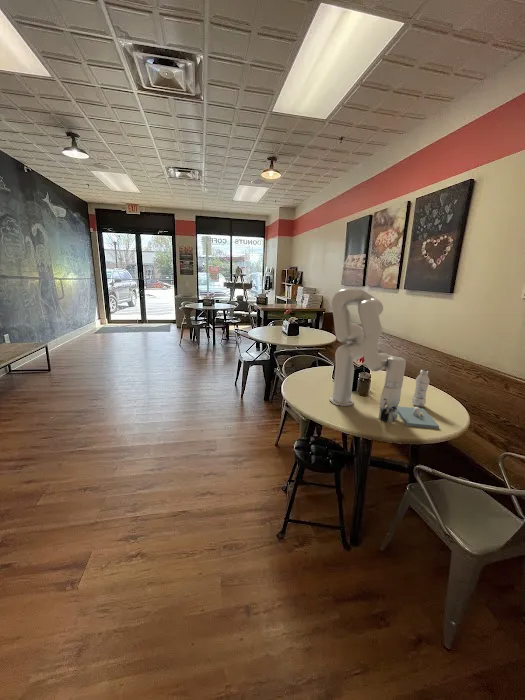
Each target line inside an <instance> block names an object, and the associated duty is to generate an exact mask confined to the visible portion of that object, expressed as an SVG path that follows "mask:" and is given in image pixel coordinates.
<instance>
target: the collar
mask: <svg viewBox="0 0 525 700" xmlns="http://www.w3.org/2000/svg"><path fill="white" fill-rule="evenodd" d="M385 406H386V407H387V405H385ZM384 409H385V410H386V409H387V408H384ZM380 417H381V409H380V408H379V411H378V419H379V420H381V419H380ZM398 417H399V414H398V410H396V409H393V408H389V410H388V419H387V421H384V420H382V421H384V422H385V423H389V424H392V423H393V421H394V422H396V421H397V420H398Z"/></svg>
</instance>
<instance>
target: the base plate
mask: <svg viewBox="0 0 525 700" xmlns="http://www.w3.org/2000/svg"><path fill="white" fill-rule="evenodd" d="M396 410H398V417H400V419H401V420H402V421H403V423H404V425H405V426H406V427H412V428H413V427H414V428H416V427H417V428H424V429H425V428H426V429H433V428H435V429H436V430H438V429H439V428H440V425H439V424H438V422H436V420H435V419H434V418H432V416H431V415H430V414H429V413H428V412H427V411H426V410H425V409H424V408H422V407H418V406H414V407H407V406H399V405H398V406H397V409H396ZM435 429H434V430H435ZM439 430H440V429H439Z"/></svg>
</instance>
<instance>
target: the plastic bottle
mask: <svg viewBox="0 0 525 700" xmlns="http://www.w3.org/2000/svg"><path fill="white" fill-rule="evenodd" d="M419 373H420V374H418V376H417V377H416V378H415V388H414V394H413V397H412V399H411V403H412V404H413V406H414V407H419V408H422V407H425V405H426V403H427V402H426V399H427V390H428V387H429V384H430V381H431V380H430V378H429V376H428V375H429V370H427V369H423V368H421V369H420V371H419Z"/></svg>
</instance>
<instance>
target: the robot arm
mask: <svg viewBox="0 0 525 700" xmlns="http://www.w3.org/2000/svg"><path fill="white" fill-rule="evenodd" d="M349 306H356V307H357V312H358V313H357V314H358V317H359V321H360V324H361V325H359V324H358V323H356V322H352V319H351V318H352V317H351V313H350V310H349V308H348V307H349ZM331 310H332V316H333V324H334V325H333V326H334V333H335V338H336V340H337V341H339V342H340V343H345V344H343V345H340V346H339V347H337V349H336V350H335V354H334V356H335V357H334V358H335V369H334V370H335V371H334V379H333V380H334V381H333V388H332V390H333V391H332V395H330V396H329V402H330V401H331V402H332V403H331V402H330V403H331V404H333V405H336V406H339V405H340V406H341V407H349V406H352V405H354V399H352V390H353V382H354V376H355V375H354V374H355V366H354V362H355V361H358V360H360V359H362V358H363V360H364V363H365V365H366V367H367V369H368V370H370V371H372V372H378V371H382V370H385V369H386V371H385V372H386V373H385V378H384V384H383V385H384V386H383V388H382V391H381V396H380V400H379V410H380V409H381V417H380V419H379V420H382V421H383V420H384V422H386V421H387V419H388V410H389V408H393V409H397V406H399V404H400V402H401V394H402V388H403V383H404V376H405V372H406V367H407V366H406V365H407V361H406V359H405V358H404V357H400V356H394V355H391V354H389V353H387V352H379V349H378V343H379V339H380V338H381V335H382V333H383V327H382V323H381V320H380V315H381V314H382V313H383V311H384V306H383V303H382V302H381V301H380V300H379V299H378V298H377V297H375V296H374V295H372V294H370V293H368V292H367V291H365V290H363V289H361V288H358V287H357V288H347V287H346V288H343V289H340V290H338V291H337V292H336V293H334V295H333V297H332V299H331ZM386 406H387V407H386ZM384 408H387V409H386V410H385V409H384Z"/></svg>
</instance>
